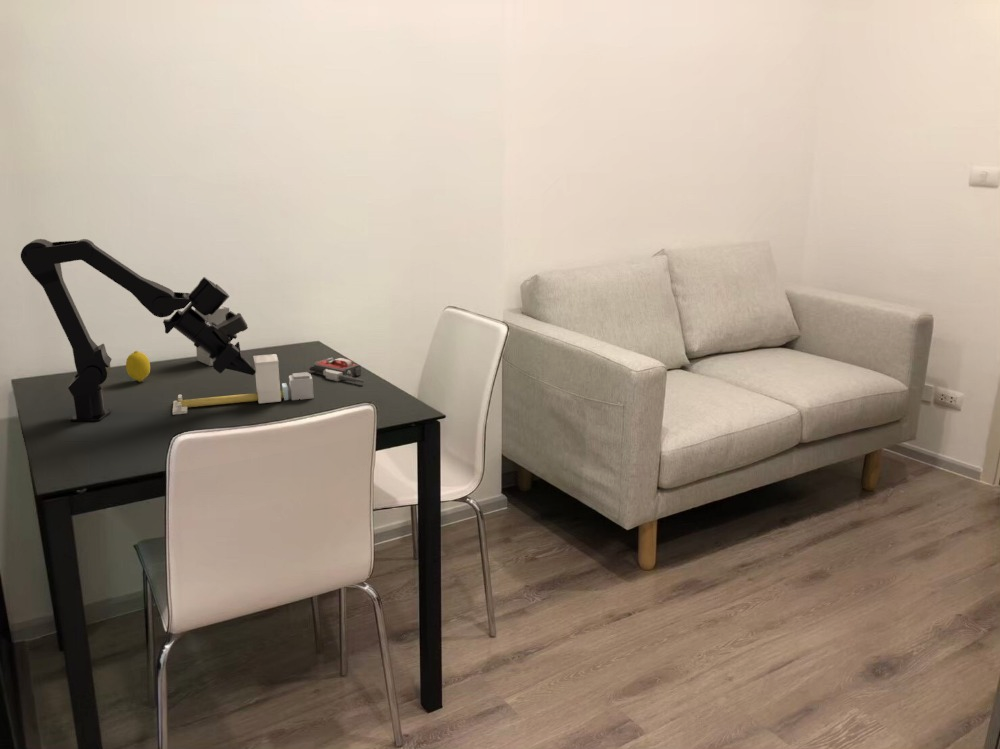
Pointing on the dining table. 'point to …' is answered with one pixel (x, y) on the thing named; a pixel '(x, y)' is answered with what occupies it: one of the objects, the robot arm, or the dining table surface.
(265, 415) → the dining table surface
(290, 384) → the grey plastic block
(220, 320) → the skincare box
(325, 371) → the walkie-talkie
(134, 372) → the lemon
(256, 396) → the wooden handled rake
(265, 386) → the white lidded box
